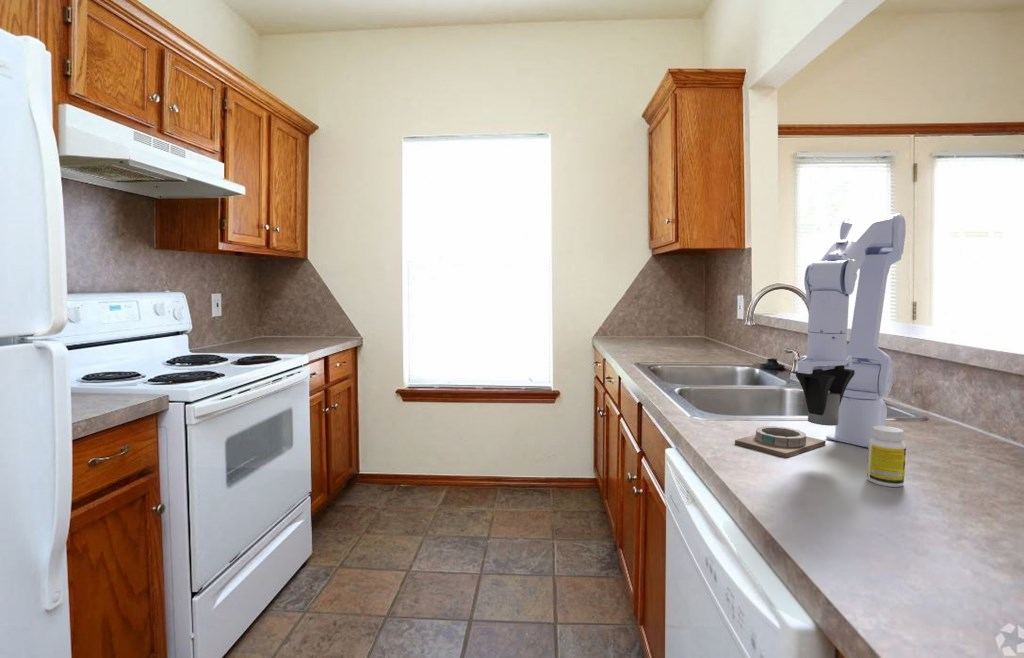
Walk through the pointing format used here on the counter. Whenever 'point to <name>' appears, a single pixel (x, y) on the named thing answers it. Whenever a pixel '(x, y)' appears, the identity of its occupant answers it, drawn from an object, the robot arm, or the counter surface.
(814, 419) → the knob
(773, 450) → the hub plate
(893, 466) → the supplement bottle
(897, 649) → the counter surface
